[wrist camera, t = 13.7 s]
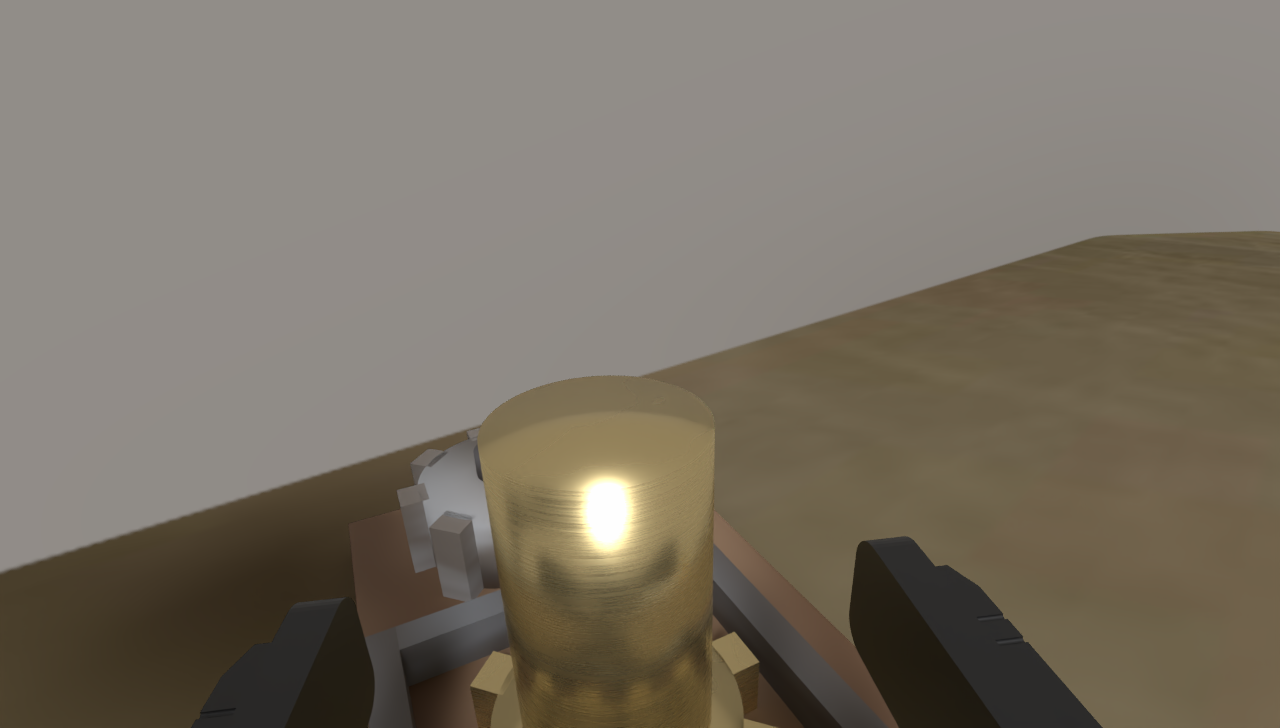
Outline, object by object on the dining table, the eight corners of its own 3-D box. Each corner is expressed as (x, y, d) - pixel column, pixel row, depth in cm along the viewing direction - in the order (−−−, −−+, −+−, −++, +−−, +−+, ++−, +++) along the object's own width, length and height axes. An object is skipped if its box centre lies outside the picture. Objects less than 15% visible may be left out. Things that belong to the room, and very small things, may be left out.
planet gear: (516, 1030, 12) (425, 630, 8) (441, 698, 18) (372, 393, 14) (842, 821, 15) (892, 462, 11) (677, 603, 22) (673, 331, 18)
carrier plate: (443, 1354, 10) (370, 1213, 7) (356, 551, 27) (326, 441, 25) (1033, 871, 15) (1088, 711, 13) (643, 465, 33) (640, 369, 30)
